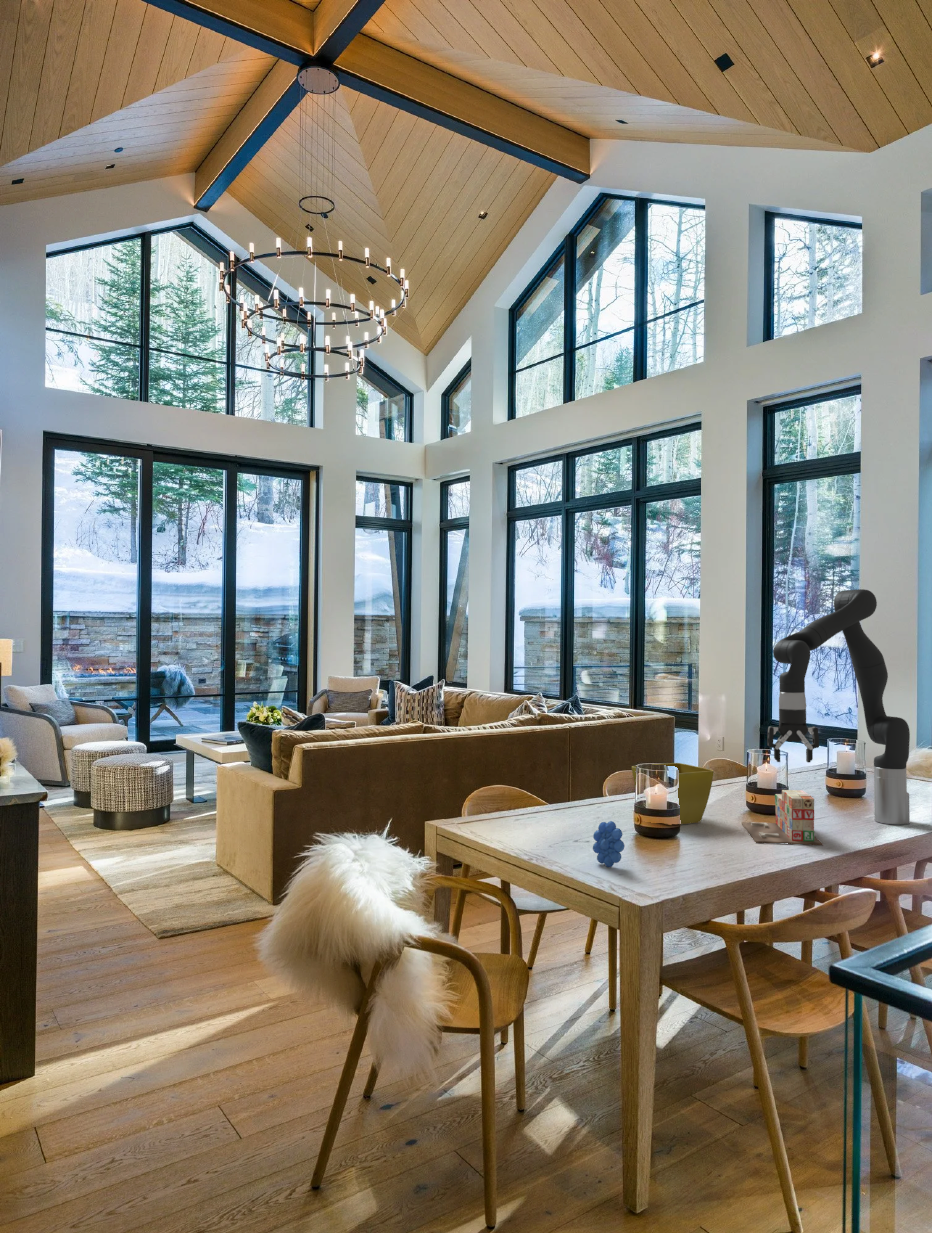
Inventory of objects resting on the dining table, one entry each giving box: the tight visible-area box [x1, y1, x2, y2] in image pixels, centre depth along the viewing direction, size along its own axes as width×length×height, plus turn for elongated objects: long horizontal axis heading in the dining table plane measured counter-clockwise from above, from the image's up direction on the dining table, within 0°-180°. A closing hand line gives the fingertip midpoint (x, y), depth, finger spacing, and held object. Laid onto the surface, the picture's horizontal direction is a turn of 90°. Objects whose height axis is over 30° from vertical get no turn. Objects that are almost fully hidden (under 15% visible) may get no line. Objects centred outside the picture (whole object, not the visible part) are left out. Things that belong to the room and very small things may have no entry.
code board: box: [741, 821, 824, 846], centre depth 246 cm, size 18×24×1 cm
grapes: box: [592, 820, 625, 868], centre depth 213 cm, size 12×7×12 cm, turn 29°
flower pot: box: [631, 762, 714, 825], centre depth 265 cm, size 19×19×17 cm
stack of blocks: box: [774, 789, 815, 841], centre depth 246 cm, size 21×6×12 cm, turn 172°
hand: (793, 761), depth 246 cm, fingers open, 8 cm apart
